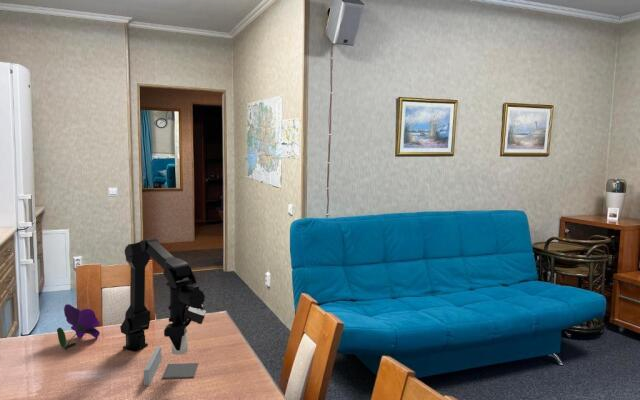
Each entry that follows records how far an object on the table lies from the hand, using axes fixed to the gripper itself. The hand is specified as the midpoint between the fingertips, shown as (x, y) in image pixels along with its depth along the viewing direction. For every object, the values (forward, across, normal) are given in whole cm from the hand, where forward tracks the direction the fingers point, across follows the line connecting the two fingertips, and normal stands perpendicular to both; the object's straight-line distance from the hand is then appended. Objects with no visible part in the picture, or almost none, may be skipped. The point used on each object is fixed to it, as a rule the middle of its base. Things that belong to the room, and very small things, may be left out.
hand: (179, 346), depth 163 cm
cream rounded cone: (+2, 0, 0) cm, 2 cm away
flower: (+9, +26, +42) cm, 50 cm away
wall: (+8, 0, +9) cm, 12 cm away
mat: (+8, 0, 0) cm, 8 cm away
